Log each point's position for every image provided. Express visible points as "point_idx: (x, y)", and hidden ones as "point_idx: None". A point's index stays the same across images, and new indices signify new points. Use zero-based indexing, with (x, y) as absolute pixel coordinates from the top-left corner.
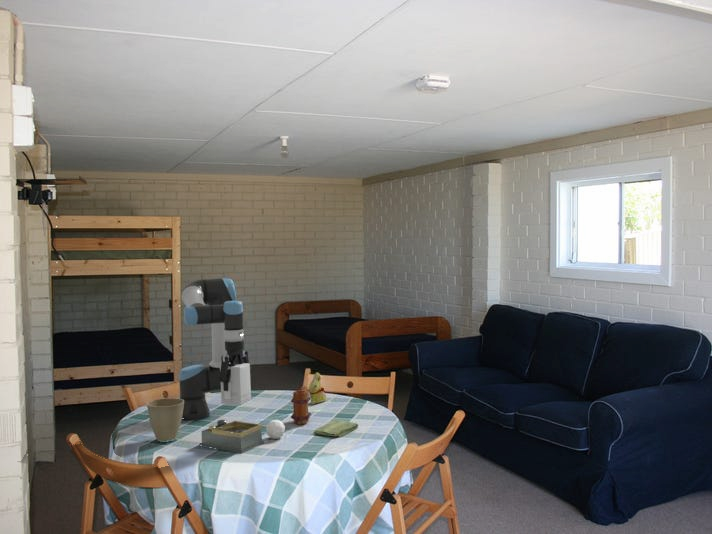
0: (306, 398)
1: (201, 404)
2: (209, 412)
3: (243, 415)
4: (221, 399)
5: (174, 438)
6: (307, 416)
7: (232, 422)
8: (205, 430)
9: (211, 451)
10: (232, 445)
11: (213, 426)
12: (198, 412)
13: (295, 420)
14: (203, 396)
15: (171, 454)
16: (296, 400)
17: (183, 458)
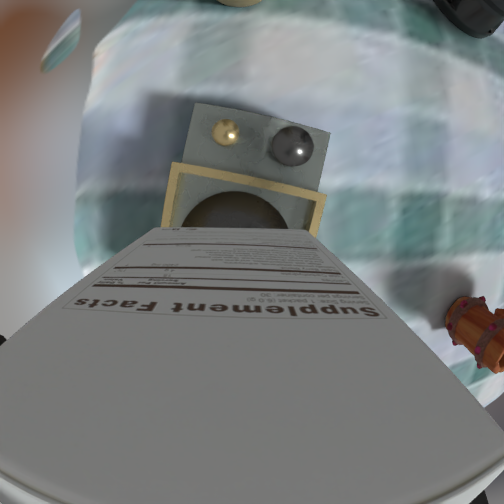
0: (486, 366)
1: (478, 11)
2: (482, 36)
3: (501, 127)
4: (143, 235)
5: (236, 5)
6: (455, 345)
7: (299, 196)
8: (207, 113)
9: (157, 178)
10: None
11: (229, 136)
12: (456, 10)
13: (452, 313)
14: (500, 11)
15: (109, 77)
16: (482, 348)
17: (84, 135)
